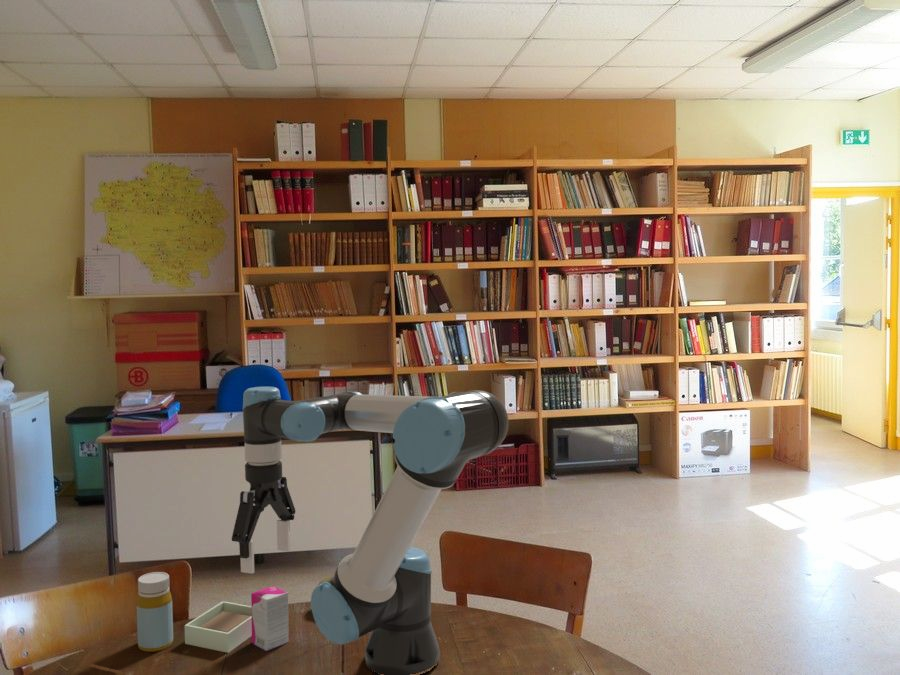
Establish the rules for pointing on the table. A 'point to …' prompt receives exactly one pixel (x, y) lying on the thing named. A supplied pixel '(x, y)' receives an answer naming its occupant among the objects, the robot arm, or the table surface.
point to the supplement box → (269, 618)
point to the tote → (218, 638)
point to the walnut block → (225, 621)
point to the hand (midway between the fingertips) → (266, 560)
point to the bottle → (154, 612)
